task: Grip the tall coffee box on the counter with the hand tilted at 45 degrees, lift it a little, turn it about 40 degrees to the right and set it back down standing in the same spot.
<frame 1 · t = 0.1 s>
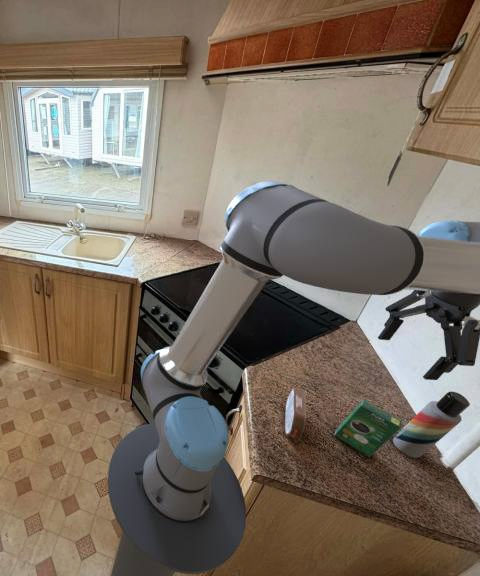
hand: (404, 357, 76), 22 cm above the counter, tool pointing down, fingers open, 13 cm apart
coffee box: (352, 444, 80), on the counter
lotion bottle: (405, 447, 80), on the counter
tin: (288, 422, 84), on the counter
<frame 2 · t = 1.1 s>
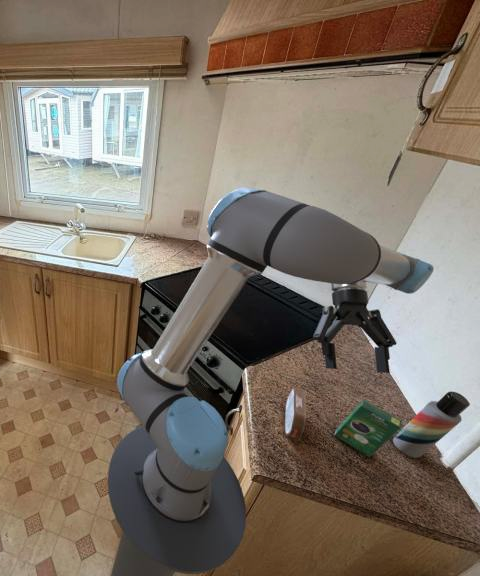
hand: (357, 370, 80), 16 cm above the counter, tool tilted 45°, fingers open, 13 cm apart
nothing on the counter moved.
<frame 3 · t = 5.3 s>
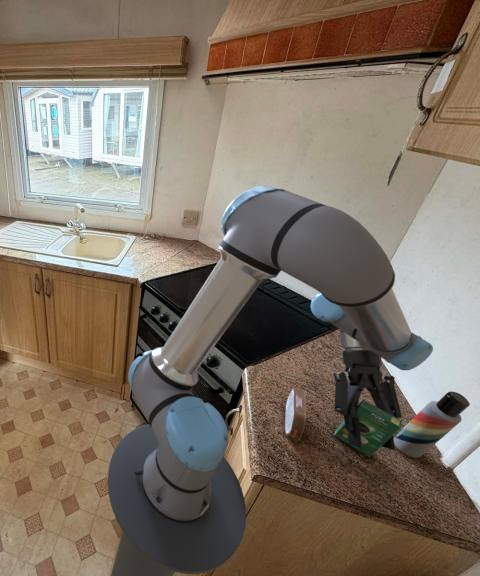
hand: (371, 446, 74), 5 cm above the counter, tool tilted 45°, fingers closed on coffee box, 7 cm apart
coffee box: (352, 444, 80), on the counter, touching gripper
everything else where it was.
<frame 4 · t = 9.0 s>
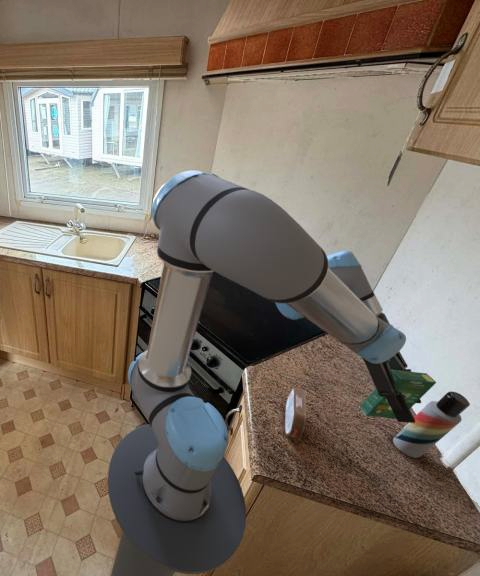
hand: (409, 411, 68), 17 cm above the counter, tool tilted 45°, fingers closed on coffee box, 7 cm apart
coffee box: (378, 413, 73), point 12 cm above the counter, touching gripper
everything else where it was.
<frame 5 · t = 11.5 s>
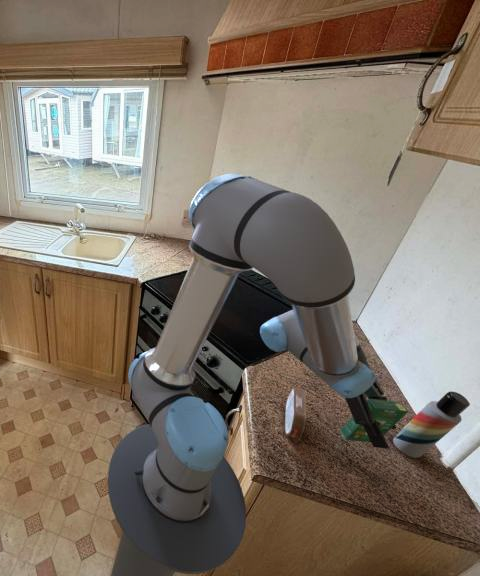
hand: (385, 436, 73), 7 cm above the counter, tool tilted 45°, fingers closed on coffee box, 7 cm apart
coffee box: (357, 437, 78), point 3 cm above the counter, touching gripper
everything else where it was.
when the fingers open (5 cm above the counter, at t = 12.7 s): coffee box stays where it is, on the counter.
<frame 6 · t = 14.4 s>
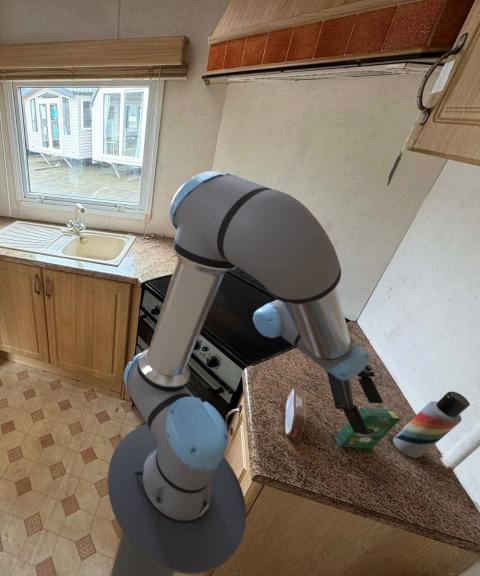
hand: (369, 416, 74), 10 cm above the counter, tool tilted 45°, fingers open, 13 cm apart
coffee box: (352, 443, 80), on the counter
everything else where it was.
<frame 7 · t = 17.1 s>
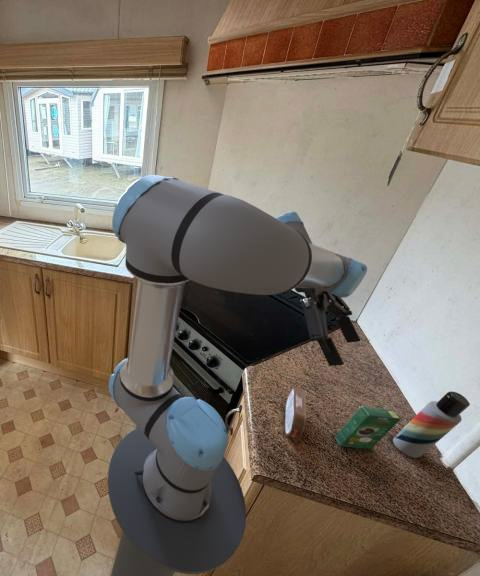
hand: (345, 352, 74), 23 cm above the counter, tool tilted 45°, fingers open, 13 cm apart
nothing on the counter moved.
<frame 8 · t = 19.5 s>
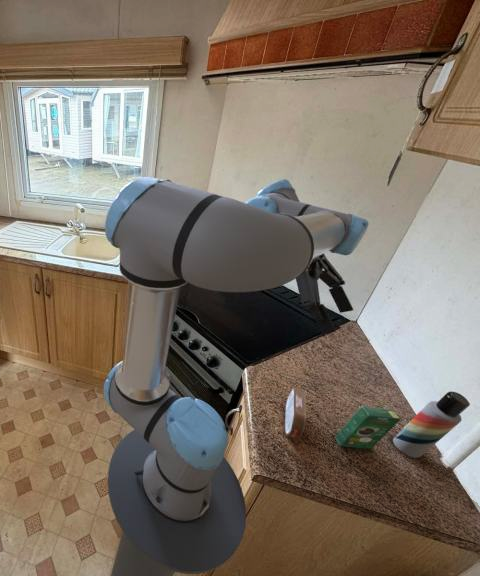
hand: (338, 321, 74), 30 cm above the counter, tool tilted 45°, fingers open, 13 cm apart
nothing on the counter moved.
at the end: coffee box tilted 0°; coffee box moved 0.2 cm from its start; the gripper is holding nothing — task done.
